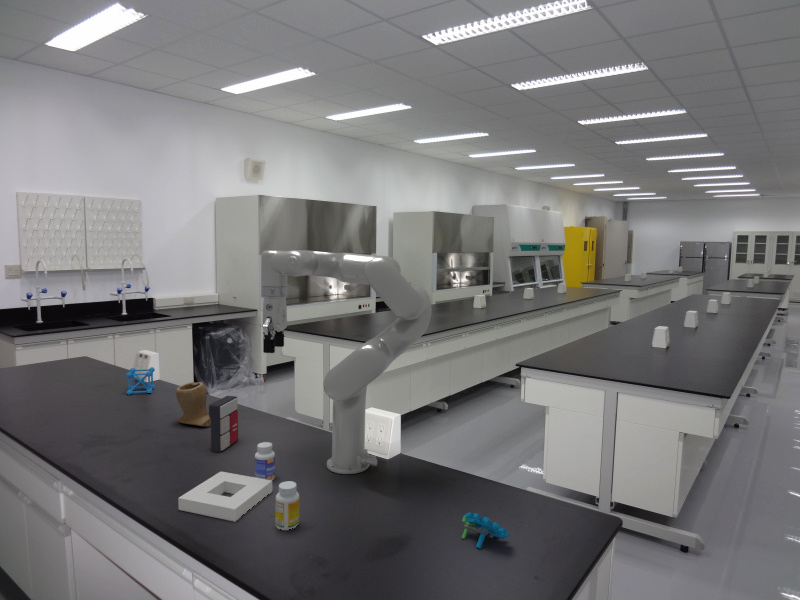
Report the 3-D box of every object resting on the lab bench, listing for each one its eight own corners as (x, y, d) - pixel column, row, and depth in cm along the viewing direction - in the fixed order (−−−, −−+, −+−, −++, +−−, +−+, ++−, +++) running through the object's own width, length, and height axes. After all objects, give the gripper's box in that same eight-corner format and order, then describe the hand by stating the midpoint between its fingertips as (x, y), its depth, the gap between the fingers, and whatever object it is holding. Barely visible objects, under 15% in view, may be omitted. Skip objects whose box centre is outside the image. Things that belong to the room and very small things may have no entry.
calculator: (221, 453, 159) (221, 406, 157) (209, 451, 160) (208, 404, 158) (239, 440, 170) (239, 396, 168) (227, 439, 170) (227, 395, 169)
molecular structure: (130, 389, 227) (130, 367, 226) (155, 388, 230) (155, 366, 229) (126, 396, 217) (125, 372, 216) (152, 394, 220) (151, 371, 219)
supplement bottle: (273, 531, 115) (273, 490, 115) (277, 519, 121) (277, 479, 120) (298, 530, 116) (298, 489, 115) (300, 518, 121) (300, 479, 120)
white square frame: (272, 491, 134) (272, 480, 134) (235, 521, 119) (234, 509, 119) (220, 482, 139) (220, 471, 139) (178, 509, 124) (178, 497, 124)
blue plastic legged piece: (517, 537, 112) (496, 516, 107) (508, 564, 109) (486, 543, 104) (476, 524, 120) (455, 504, 115) (467, 549, 117) (444, 529, 112)
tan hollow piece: (168, 425, 182) (168, 384, 181) (195, 416, 193) (194, 377, 192) (200, 432, 176) (199, 390, 175) (225, 422, 187) (225, 382, 185)
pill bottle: (269, 484, 139) (269, 449, 138) (251, 481, 140) (251, 447, 139) (278, 475, 144) (278, 442, 143) (260, 473, 145) (260, 440, 144)
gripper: (278, 295, 142) (278, 355, 144) (294, 290, 159) (293, 344, 161) (251, 294, 143) (251, 354, 144) (270, 289, 160) (270, 343, 161)
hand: (274, 349), depth 153 cm, fingers open, 9 cm apart
